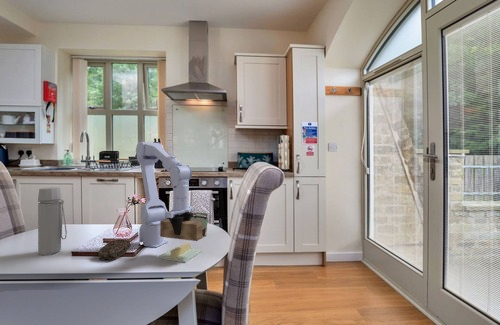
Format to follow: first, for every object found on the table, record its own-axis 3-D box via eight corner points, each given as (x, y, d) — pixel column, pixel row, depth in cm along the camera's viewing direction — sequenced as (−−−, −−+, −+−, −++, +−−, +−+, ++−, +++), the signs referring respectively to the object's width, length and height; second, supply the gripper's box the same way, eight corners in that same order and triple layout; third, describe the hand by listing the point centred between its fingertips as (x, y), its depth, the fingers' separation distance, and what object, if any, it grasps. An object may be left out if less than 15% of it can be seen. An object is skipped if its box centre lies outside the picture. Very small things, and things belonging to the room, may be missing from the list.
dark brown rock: (115, 249, 107) (115, 236, 107) (135, 252, 103) (135, 239, 103) (89, 259, 96) (89, 245, 96) (111, 263, 92) (111, 248, 92)
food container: (213, 233, 130) (213, 213, 130) (207, 236, 124) (208, 215, 124) (190, 231, 133) (190, 211, 133) (184, 234, 127) (184, 214, 127)
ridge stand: (157, 258, 97) (157, 250, 97) (176, 248, 108) (176, 240, 108) (185, 262, 93) (185, 254, 93) (202, 251, 104) (202, 243, 104)
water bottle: (33, 257, 97) (33, 189, 97) (43, 250, 105) (43, 187, 105) (62, 254, 100) (62, 188, 100) (70, 248, 107) (70, 186, 107)
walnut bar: (160, 236, 101) (160, 221, 101) (166, 233, 105) (166, 218, 105) (196, 241, 96) (196, 224, 96) (202, 238, 100) (202, 222, 99)
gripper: (178, 200, 92) (178, 239, 92) (199, 195, 106) (199, 229, 106) (161, 199, 94) (161, 237, 95) (184, 194, 108) (184, 227, 108)
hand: (180, 233), depth 100 cm, fingers closed on walnut bar, 4 cm apart
